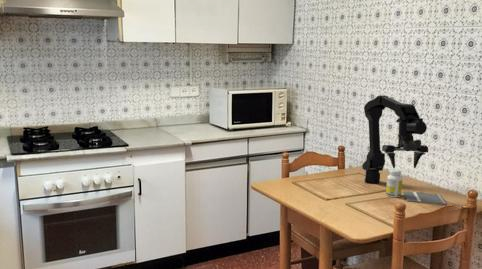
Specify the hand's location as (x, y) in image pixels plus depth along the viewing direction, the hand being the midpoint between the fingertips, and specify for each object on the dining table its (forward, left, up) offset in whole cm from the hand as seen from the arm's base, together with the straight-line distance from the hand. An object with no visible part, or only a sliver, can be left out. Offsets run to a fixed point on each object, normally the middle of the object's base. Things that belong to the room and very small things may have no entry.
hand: (404, 168), depth 207 cm
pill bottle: (-4, 0, -13) cm, 14 cm away
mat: (+9, 0, -13) cm, 16 cm away
